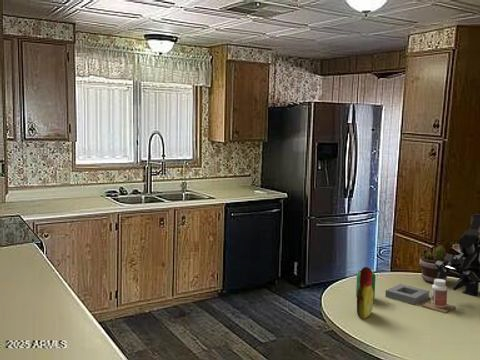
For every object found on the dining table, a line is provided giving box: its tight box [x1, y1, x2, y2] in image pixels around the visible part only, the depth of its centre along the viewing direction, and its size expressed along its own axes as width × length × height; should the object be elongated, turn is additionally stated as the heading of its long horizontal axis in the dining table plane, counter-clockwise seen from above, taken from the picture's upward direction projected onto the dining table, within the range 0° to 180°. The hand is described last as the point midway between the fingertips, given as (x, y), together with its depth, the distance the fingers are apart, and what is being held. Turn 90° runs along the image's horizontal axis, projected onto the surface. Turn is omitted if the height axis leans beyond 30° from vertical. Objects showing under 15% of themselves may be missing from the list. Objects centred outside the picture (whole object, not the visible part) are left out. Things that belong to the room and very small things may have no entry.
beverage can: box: [355, 270, 376, 300], centre depth 217 cm, size 8×8×12 cm
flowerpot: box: [418, 244, 451, 284], centre depth 245 cm, size 14×15×20 cm
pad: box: [421, 300, 456, 314], centre depth 209 cm, size 10×10×1 cm
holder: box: [385, 283, 430, 306], centre depth 221 cm, size 14×14×3 cm
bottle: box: [356, 266, 374, 319], centre depth 197 cm, size 12×6×20 cm, turn 154°
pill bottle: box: [430, 279, 448, 308], centre depth 209 cm, size 6×6×11 cm
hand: (444, 286), depth 210 cm, fingers open, 9 cm apart
